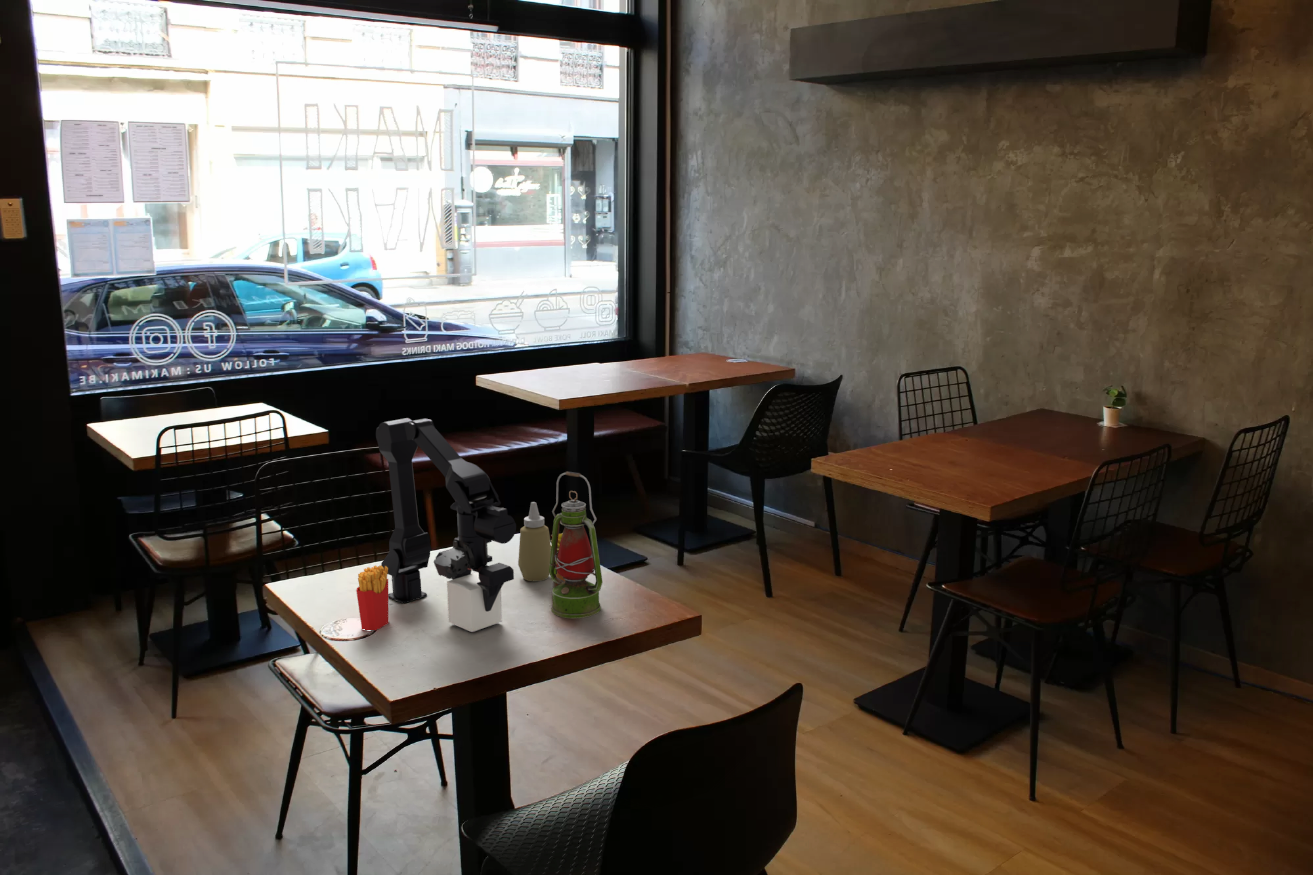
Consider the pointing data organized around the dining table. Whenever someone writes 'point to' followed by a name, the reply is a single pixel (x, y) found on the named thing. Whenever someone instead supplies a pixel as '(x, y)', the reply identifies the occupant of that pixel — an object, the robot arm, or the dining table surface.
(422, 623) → the dining table surface
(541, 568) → the squeeze bottle
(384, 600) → the french fries
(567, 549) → the lantern
